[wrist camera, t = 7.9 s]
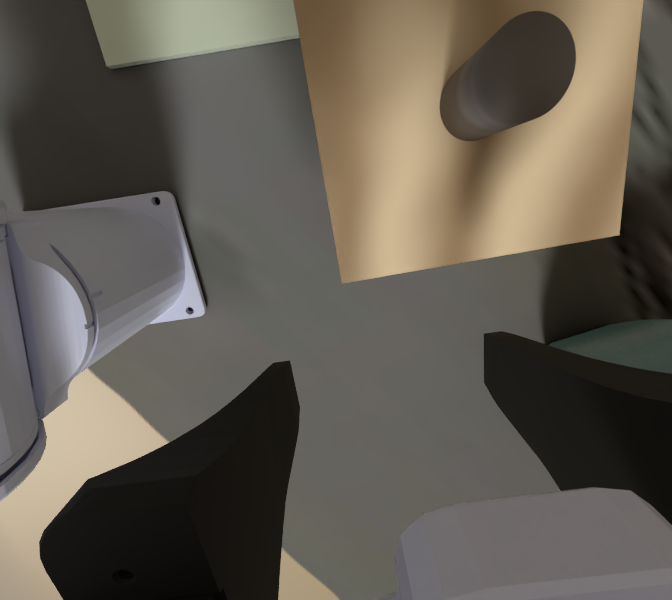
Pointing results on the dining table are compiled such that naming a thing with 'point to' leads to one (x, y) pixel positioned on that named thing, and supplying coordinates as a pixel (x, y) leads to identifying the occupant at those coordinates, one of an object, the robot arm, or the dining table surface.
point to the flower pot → (626, 344)
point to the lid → (468, 125)
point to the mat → (186, 27)
